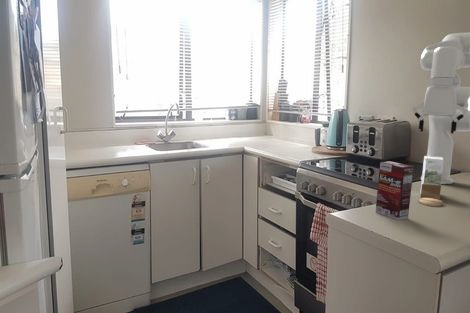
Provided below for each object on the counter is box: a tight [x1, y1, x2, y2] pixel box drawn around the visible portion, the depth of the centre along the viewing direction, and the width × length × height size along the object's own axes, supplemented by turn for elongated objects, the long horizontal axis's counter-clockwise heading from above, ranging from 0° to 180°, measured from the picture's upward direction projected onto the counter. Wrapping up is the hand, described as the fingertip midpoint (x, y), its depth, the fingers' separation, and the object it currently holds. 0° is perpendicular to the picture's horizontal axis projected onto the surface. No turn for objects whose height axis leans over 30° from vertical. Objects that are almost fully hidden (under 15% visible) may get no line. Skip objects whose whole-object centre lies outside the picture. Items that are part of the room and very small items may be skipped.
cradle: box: [420, 184, 442, 200], centre depth 142 cm, size 10×6×5 cm, turn 155°
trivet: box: [418, 197, 443, 207], centre depth 132 cm, size 7×7×1 cm
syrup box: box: [419, 155, 444, 194], centre depth 141 cm, size 6×6×14 cm
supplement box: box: [375, 160, 415, 221], centre depth 116 cm, size 9×5×16 cm, turn 29°
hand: (436, 132), depth 138 cm, fingers open, 9 cm apart
